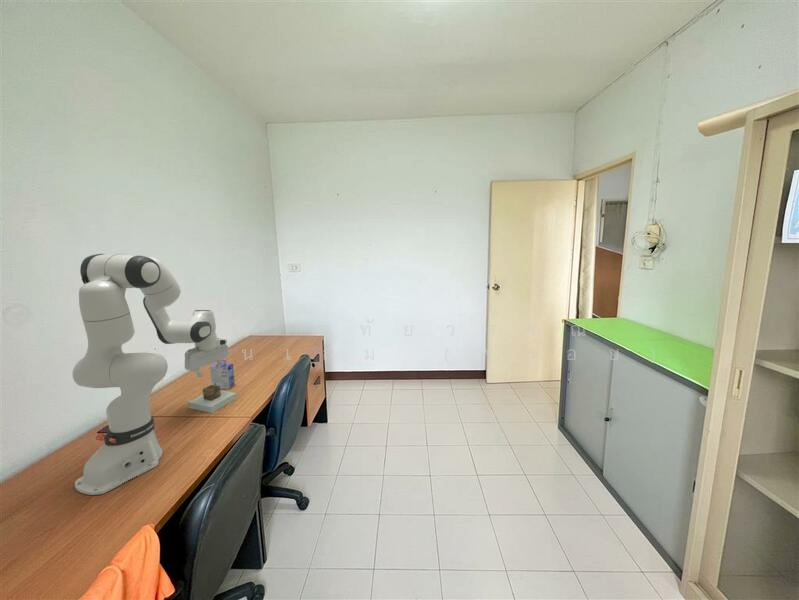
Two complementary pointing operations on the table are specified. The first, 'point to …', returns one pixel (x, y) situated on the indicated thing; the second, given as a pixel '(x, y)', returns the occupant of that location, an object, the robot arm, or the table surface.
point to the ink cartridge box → (222, 376)
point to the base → (212, 402)
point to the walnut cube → (211, 392)
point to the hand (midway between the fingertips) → (209, 372)
